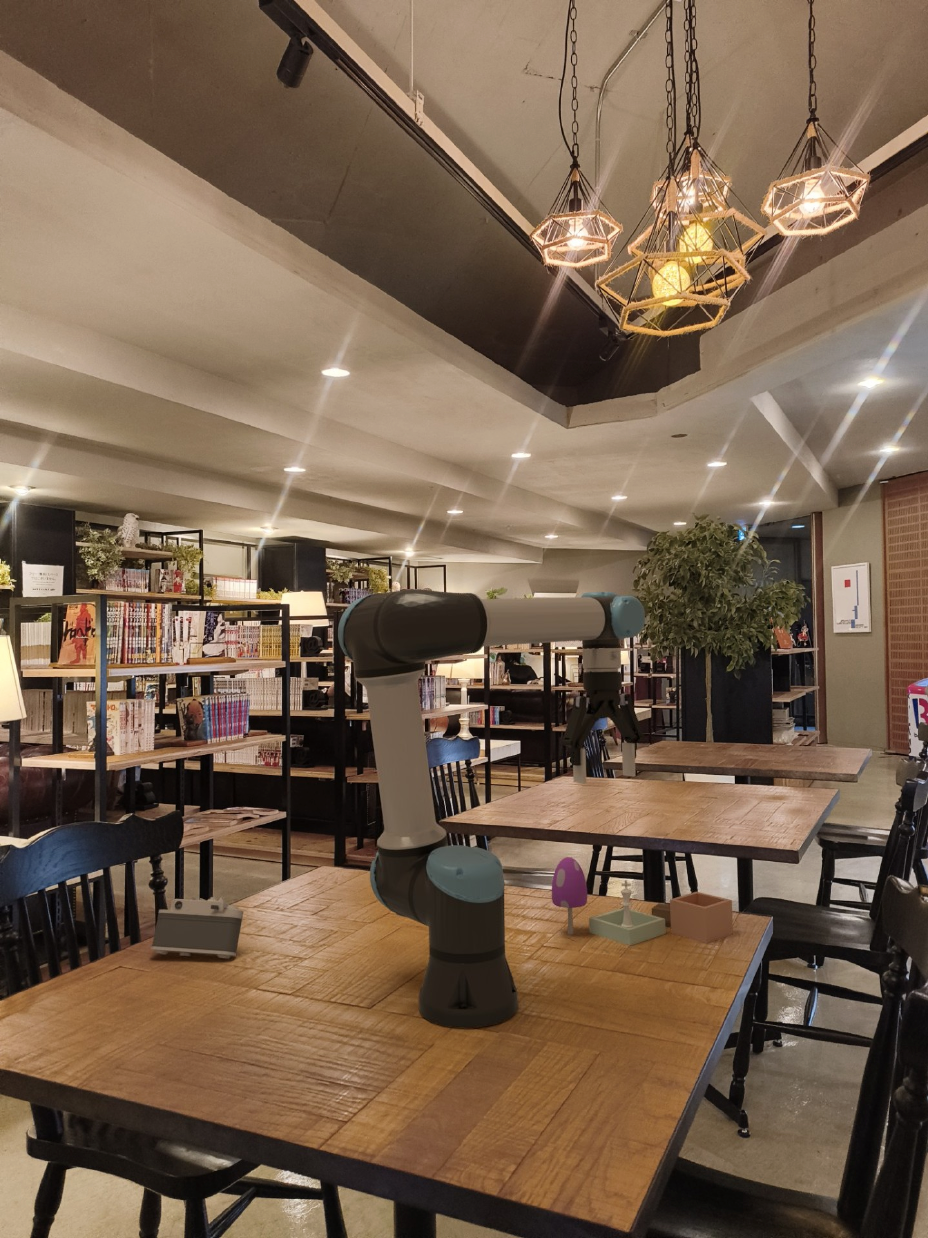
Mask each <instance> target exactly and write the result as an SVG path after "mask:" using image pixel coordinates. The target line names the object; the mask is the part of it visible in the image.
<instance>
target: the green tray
mask: <svg viewBox="0 0 928 1238" xmlns="http://www.w3.org/2000/svg"><path fill="white" fill-rule="evenodd" d="M630 915H631V921H632V924H633V925H634V927H631V928H626V927H623V926H621V924H623V917H624V907H622V908H618V909H615V910H611V911H608V912H604V913H602V914H598V915H595V916H591V917H589V918H588V923H589V924H588V926H589V927H588V928H589V930H588V931H589V934H592V935H596V936H599V937H601V938H605V939H608V940H612V941H614V942H617V943H621V944H624V945H626V946H633V945H636V944H639V943H642V942H645V941H648V940H651V939H655V938H656V937H659V936H663V935H665V934H667V933H666V927H665V919H664V918H660V917H656V916H653V915H652V914H648V913H644V912H643V911H639V910H635V909H632V908H631V909H630Z"/></svg>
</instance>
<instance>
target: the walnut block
mask: <svg viewBox="0 0 928 1238" xmlns="http://www.w3.org/2000/svg"><path fill="white" fill-rule="evenodd" d="M651 915H653V916H656V917H660V918H664V919H665V928H671V916H670V904H668V903H660V902H659V903H657V904H655V905H654V906H653V907H651Z"/></svg>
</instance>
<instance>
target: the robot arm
mask: <svg viewBox="0 0 928 1238" xmlns="http://www.w3.org/2000/svg"><path fill="white" fill-rule="evenodd" d="M645 613H646V612H645V608H644V605H643V604H642V602H641V601H640V600H639V598H637V597H635V596H634V595H633V596H631V595H622V594H620V595H619V594H617V593H616V592H612V591H591V592H590V591H589V592H584V593H582V594H581V597H576V596H575V597H534V598H533V597H532V598H531V597H530V598H527V597H524V598H483V599H482V598H481V597H480V596H479V595H477V594H475V593H472V592H450V591H449V592H447V591H438V590H429V589H418V588H415V589H414V588H409V589H403V590H396V591H388V592H374V593H370V594H368V595H366V596H362V597H360V598H358V599H356V600H353V602H351V604H349V605H348V607H347V608H346V609H345V611H344V612H343V613H342V615H341V617H340V620H339V623H338V628H337V637H338V638H337V639H338V642H339V646H340V648H341V650H342V652H343V654H344V655H345V656H347V657H348V659H350V660H351V662H352V663H353V671H354V678H355V681H357V682H358V683H359V684H361V685H362V686H363V687H365V690H366V698H367V705H368V711H369V719H370V721H369V722H370V727H371V734H372V735H371V736H372V742H373V743H372V745H373V749H374V751H373V752H374V758H375V766H376V773H377V774H376V775H377V782H378V789H379V796H380V803H381V804H380V805H381V811H382V820H383V826H384V827H383V828H384V829H383V832H382V833H381V834H380V836H379V837H378V838H377V839H376V840H377V841H376V845H377V852H376V854H375V856H374V857H375V858H374V859H373V860H372V861H371V864H370V868H369V869H370V871H369V882H370V887H371V890H372V891H373V894H374V896H375V898H376V899H377V901H379V903H380V904H381V905H383V906H384V907H385V908H387V909H388V910H389V911H390V912H392V913H394V914H396V915H397V916H399V917H404V918H408V919H410V920H412V921H415V922H417V923H419V924H422V925H423V926H424V925H425V926H427V927H428V941H429V942H428V945H429V947H428V951H429V957H428V962H427V966H426V969H425V972H424V976H423V981H422V984H421V985H422V986H421V987H420V990H419V993H418V1011H419V1014H420V1015H421V1016H422V1018H424V1019H425V1020H426V1021H429V1022H430V1023H432V1024H437V1025H441V1026H444V1027H448V1028H449V1027H450V1028H458V1029H459V1028H461V1029H470V1028H471V1029H472V1028H481V1027H482V1028H483V1027H489V1026H493V1025H496V1024H499V1023H503V1022H506V1021H507V1020H509V1019H511V1018H512V1017H513V1016H515V1014H516V1013H517V1012H518V1010H519V999H518V998H519V997H518V996H519V994H518V989H517V986H516V984H515V981H514V977H513V974H512V972H511V969H510V965H509V963H508V959H507V957H506V956H507V955H506V944H505V943H506V934H505V933H506V932H505V931H506V929H505V928H506V927H505V923H506V922H505V921H506V920H505V918H506V917H505V885H506V884H505V883H506V882H505V879H504V872H503V871H504V870H503V864H502V862H501V860H500V859H499V858H498V856H497V855H496V854H494V853H492V852H491V851H489V850H486V849H485V848H480V847H476V846H471V847H470V846H468V845H460V844H459V845H458V844H457V845H456V844H455V845H449V844H448V843H449V842H448V836H447V831H446V829H445V828H443V827H442V826H440V825H439V824H438V823H437V821H436V814H435V807H434V799H433V790H432V783H431V776H430V775H431V774H430V767H429V761H428V760H429V759H428V751H427V745H426V744H427V743H426V738H425V737H426V736H425V729H424V723H423V722H424V721H423V720H424V719H423V714H422V706H421V699H420V698H421V697H420V690H419V689H420V688H419V684H418V683H419V679H421V677H422V675H423V674H424V673H425V671H426V664H425V662H428V661H433V660H437V659H438V660H439V659H442V658H448V657H453V656H457V655H458V656H459V655H469V654H472V655H473V654H476V653H478V652H480V651H481V650H482V648H483V647H494V646H495V647H496V646H511V645H512V646H513V645H514V646H515V645H527V644H528V645H529V644H530V645H531V644H544V643H545V644H546V643H559V642H563V643H564V642H575V641H581V649H582V669H583V670H585V672H583V673H582V683H583V686H582V687H583V690H584V691H585V693H586V694H585V696H580V695H576V696H574V697H573V701H572V703H573V704H572V710H571V713H570V716H569V718H568V722H567V723H566V724H567V725H566V728H565V731H564V734H563V738H562V739H561V744H562V745H563V746H565V747H566V748H568V749H570V764H571V765H572V769H573V770H572V771H573V772H572V773H573V774H572V775H573V778H572V779H573V783H576V784H577V783H578V784H582V785H583V784H587V761H586V760H587V758H586V748H583V746H584V744H585V742H586V740H587V739H588V737H589V735H590V733H591V731H592V729H593V727H594V726H595V724H596V722H598V721H599V720H600V719H610V721H612V723H613V724H614V726H615V727H616V729H617V731H618V732H619V733H620V734H619V735H620V736H621V737H622V738H623V740H624V741H625V742H621V757H622V776H625V777H633V778H634V777H636V758H637V744H640V742H641V741H642V740H643V739H644V736H645V735H644V732H643V729H642V727H641V724H640V721H639V719H638V716H637V714H636V711H635V708H634V705H633V701H632V695H631V694H630V693H620V691H621V690H622V688H623V679H622V678H623V675H622V674H623V673H621V671H619V669H621V668H622V654H621V653H622V652H621V649H622V648H621V640H625V639H630V638H635V637H636V636H638V635H639V634H641V632H642V631H643V630H644V627H645V622H646V615H645Z"/></svg>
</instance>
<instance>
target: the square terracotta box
mask: <svg viewBox="0 0 928 1238" xmlns="http://www.w3.org/2000/svg"><path fill="white" fill-rule="evenodd" d="M669 905H670V916H671V927H670V933H671V934H673V935H676V936H679V937H683V938H686V939H690V940H692V941H696V942H699V943H703V944H706V945H707V944H710V943H712V942H716V941H718V940H721V939H723V938H726V937H729V936H731V935H734V923H733V922H734V921H733V900H732V899H728V898H724V897H720V896H715V895H712V894H708V893H704V892H699V891H694V892H691V893H687V894H684V895H681V896H678V897H675V898H671V899H669Z"/></svg>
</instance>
